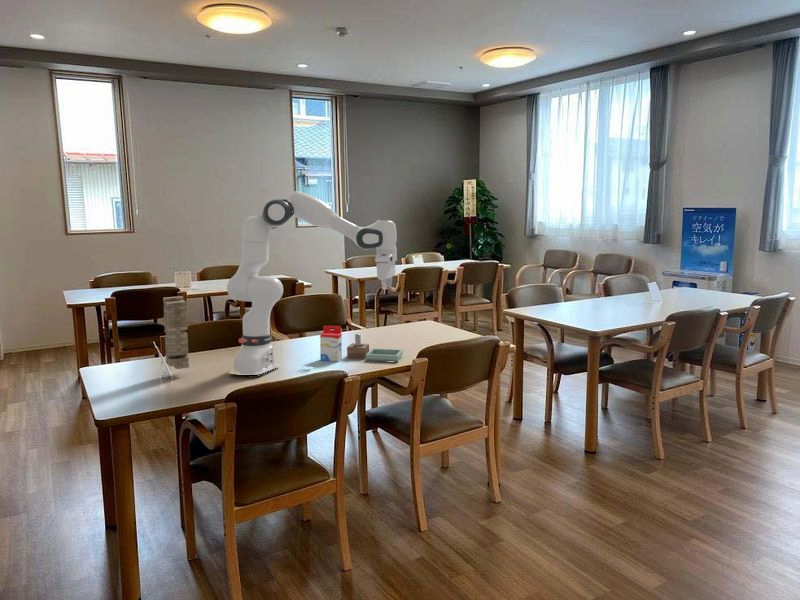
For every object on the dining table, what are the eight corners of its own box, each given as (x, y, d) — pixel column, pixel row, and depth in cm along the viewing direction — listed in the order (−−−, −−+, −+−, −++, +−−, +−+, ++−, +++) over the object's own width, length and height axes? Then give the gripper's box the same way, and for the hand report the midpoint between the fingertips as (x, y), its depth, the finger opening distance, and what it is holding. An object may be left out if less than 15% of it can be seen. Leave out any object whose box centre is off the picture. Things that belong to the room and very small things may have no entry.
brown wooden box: (364, 359, 265) (364, 347, 264) (347, 358, 267) (347, 347, 266) (369, 354, 273) (369, 344, 272) (352, 354, 274) (351, 343, 274)
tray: (397, 362, 258) (397, 355, 258) (365, 361, 261) (365, 354, 260) (402, 356, 270) (402, 349, 269) (372, 355, 272) (372, 348, 272)
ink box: (320, 360, 262) (319, 327, 260) (323, 358, 267) (322, 325, 265) (339, 361, 260) (338, 328, 258) (342, 359, 265) (341, 326, 263)
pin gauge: (360, 357, 268) (359, 335, 267) (354, 357, 269) (354, 335, 267) (361, 356, 271) (361, 334, 269) (356, 355, 271) (355, 333, 270)
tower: (170, 370, 246) (166, 299, 242) (165, 366, 253) (161, 297, 249) (190, 368, 250) (186, 298, 246) (185, 363, 257) (181, 295, 253)
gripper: (384, 255, 275) (385, 285, 276) (374, 258, 255) (374, 290, 257) (398, 255, 273) (398, 285, 275) (388, 258, 253) (388, 291, 255)
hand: (386, 288), depth 266 cm, fingers open, 8 cm apart
